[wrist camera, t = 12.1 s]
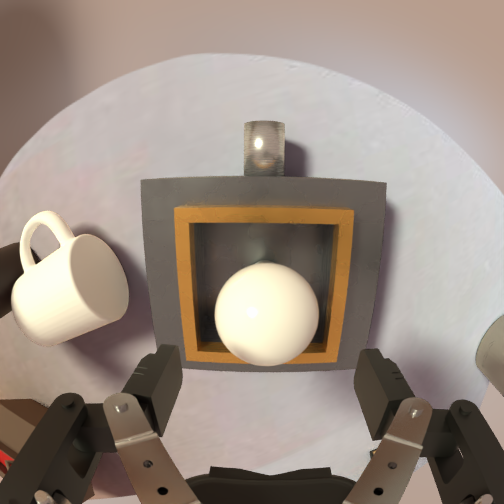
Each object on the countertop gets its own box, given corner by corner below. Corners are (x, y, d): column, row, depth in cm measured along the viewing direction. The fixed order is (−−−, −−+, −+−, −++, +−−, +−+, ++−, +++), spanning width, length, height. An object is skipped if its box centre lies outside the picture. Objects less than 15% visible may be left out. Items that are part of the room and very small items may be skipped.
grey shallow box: (366, 136, 23) (395, 127, 17) (349, 342, 28) (365, 378, 23) (160, 133, 24) (132, 124, 18) (172, 340, 29) (155, 375, 23)
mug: (140, 297, 28) (104, 338, 20) (76, 325, 29) (39, 361, 21) (86, 188, 25) (34, 197, 17) (29, 232, 26) (-19, 250, 19)
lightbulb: (303, 237, 25) (334, 284, 14) (299, 306, 26) (321, 385, 16) (227, 236, 25) (202, 283, 14) (228, 306, 26) (210, 385, 16)
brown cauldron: (4, 348, 31) (-58, 405, 15) (128, 444, 34) (93, 528, 19) (1, 412, 37) (-37, 458, 21) (93, 481, 40) (68, 537, 24)
